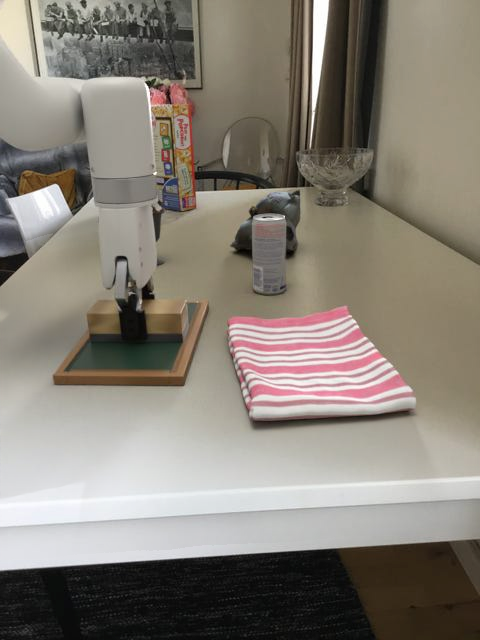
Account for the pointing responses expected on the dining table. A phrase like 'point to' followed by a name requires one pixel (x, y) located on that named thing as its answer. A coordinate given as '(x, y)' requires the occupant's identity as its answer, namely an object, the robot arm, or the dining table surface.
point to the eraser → (161, 320)
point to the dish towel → (313, 368)
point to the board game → (174, 156)
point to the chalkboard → (134, 358)
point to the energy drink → (269, 253)
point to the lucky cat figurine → (273, 205)
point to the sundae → (157, 223)
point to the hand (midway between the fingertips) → (140, 329)
